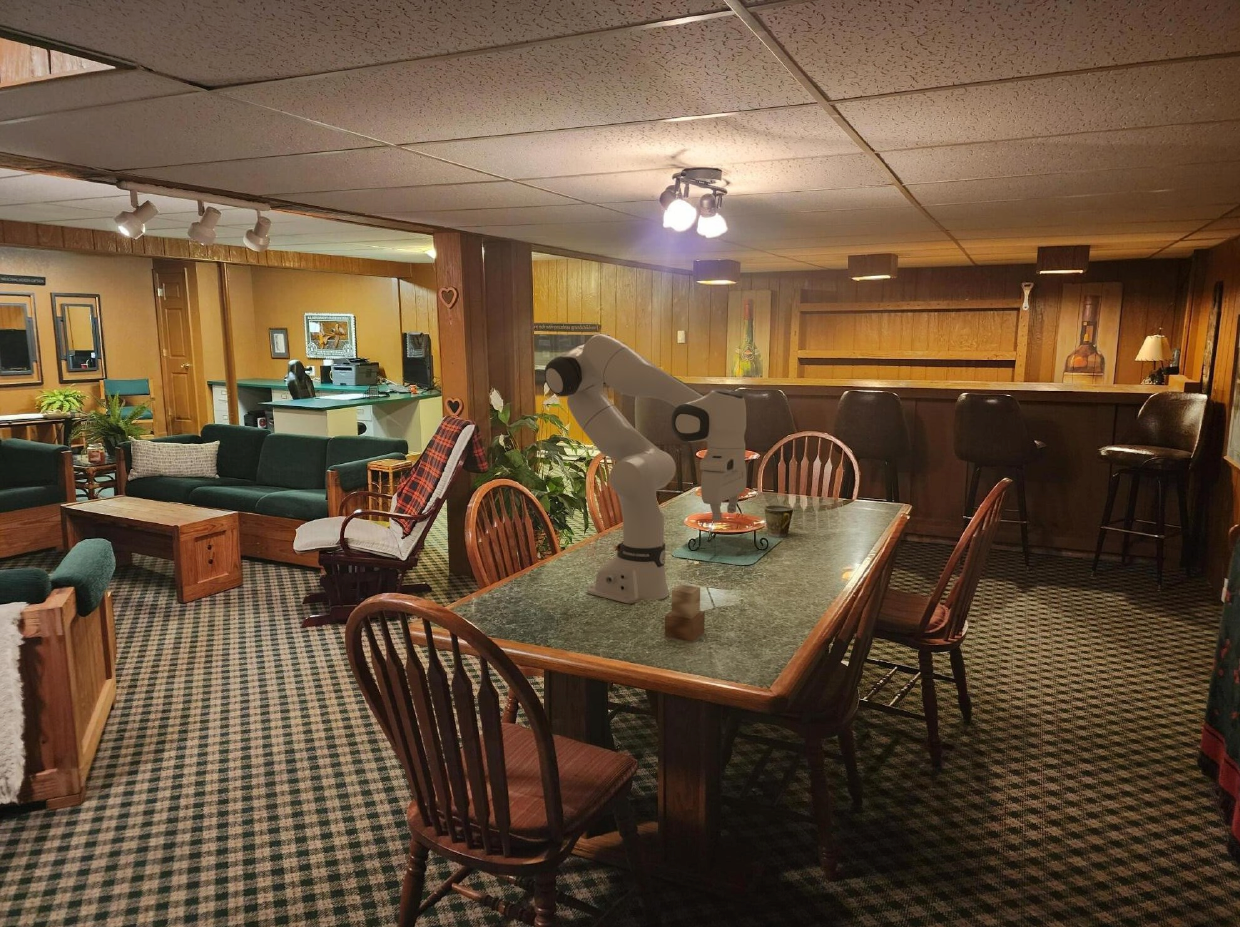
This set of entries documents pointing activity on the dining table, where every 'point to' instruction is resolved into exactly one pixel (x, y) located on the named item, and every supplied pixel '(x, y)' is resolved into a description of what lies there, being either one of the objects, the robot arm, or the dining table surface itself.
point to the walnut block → (684, 627)
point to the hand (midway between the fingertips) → (724, 516)
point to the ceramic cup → (778, 519)
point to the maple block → (685, 601)
